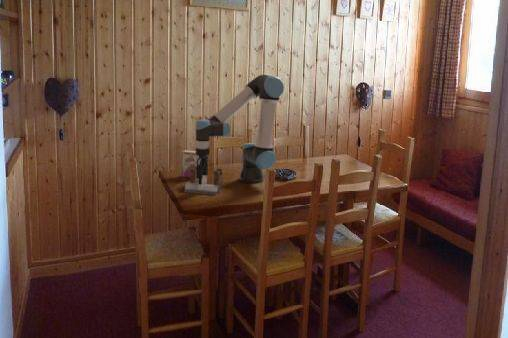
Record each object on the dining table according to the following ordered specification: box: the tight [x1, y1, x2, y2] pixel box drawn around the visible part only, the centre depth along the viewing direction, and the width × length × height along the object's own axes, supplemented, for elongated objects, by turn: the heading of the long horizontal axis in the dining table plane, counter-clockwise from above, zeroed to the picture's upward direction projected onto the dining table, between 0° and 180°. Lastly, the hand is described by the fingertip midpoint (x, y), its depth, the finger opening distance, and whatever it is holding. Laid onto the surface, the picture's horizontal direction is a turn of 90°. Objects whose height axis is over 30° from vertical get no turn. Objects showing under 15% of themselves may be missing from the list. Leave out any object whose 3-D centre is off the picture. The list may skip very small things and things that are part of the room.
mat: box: [183, 190, 219, 196], centre depth 285 cm, size 19×8×1 cm, turn 78°
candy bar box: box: [181, 149, 199, 179], centre depth 313 cm, size 11×5×16 cm, turn 70°
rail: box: [183, 182, 221, 194], centre depth 285 cm, size 20×4×4 cm, turn 78°
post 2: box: [213, 167, 223, 189], centre depth 293 cm, size 3×7×11 cm, turn 168°
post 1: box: [190, 166, 198, 183], centre depth 296 cm, size 3×7×11 cm, turn 168°
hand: (202, 187), depth 285 cm, fingers open, 6 cm apart
